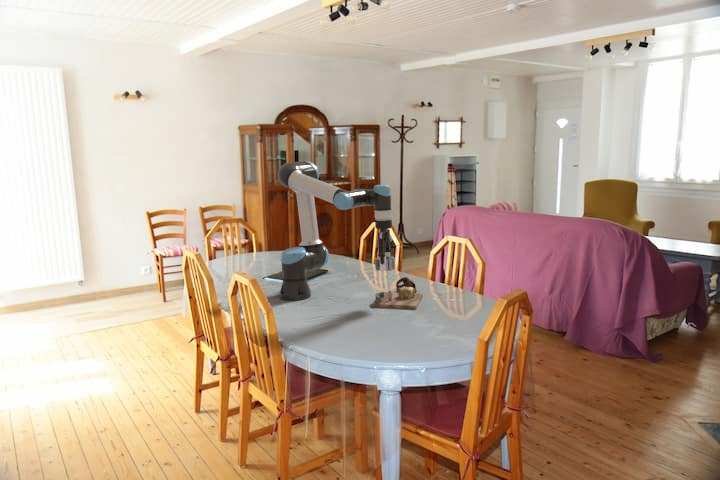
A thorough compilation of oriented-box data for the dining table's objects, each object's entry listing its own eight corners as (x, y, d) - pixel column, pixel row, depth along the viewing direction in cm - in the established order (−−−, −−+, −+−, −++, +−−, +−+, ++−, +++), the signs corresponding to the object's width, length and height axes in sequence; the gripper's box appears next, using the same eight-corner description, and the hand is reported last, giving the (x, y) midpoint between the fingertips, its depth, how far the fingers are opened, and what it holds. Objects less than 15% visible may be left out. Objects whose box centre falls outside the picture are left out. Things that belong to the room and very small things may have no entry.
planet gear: (373, 271, 251) (373, 260, 250) (378, 266, 260) (377, 256, 259) (393, 271, 249) (392, 260, 248) (397, 266, 257) (396, 256, 257)
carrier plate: (372, 306, 252) (372, 294, 251) (381, 294, 271) (381, 282, 270) (416, 309, 247) (416, 296, 246) (422, 296, 266) (422, 284, 265)
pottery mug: (418, 294, 271) (411, 281, 268) (401, 302, 274) (393, 289, 271) (417, 282, 282) (409, 270, 279) (400, 290, 284) (393, 277, 282)
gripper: (386, 222, 239) (388, 273, 243) (396, 216, 260) (397, 263, 264) (369, 222, 241) (371, 273, 245) (380, 216, 262) (382, 263, 266)
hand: (385, 268), depth 254 cm, fingers closed on planet gear, 9 cm apart
